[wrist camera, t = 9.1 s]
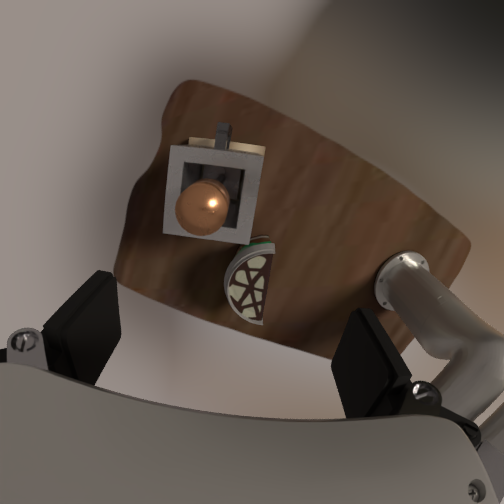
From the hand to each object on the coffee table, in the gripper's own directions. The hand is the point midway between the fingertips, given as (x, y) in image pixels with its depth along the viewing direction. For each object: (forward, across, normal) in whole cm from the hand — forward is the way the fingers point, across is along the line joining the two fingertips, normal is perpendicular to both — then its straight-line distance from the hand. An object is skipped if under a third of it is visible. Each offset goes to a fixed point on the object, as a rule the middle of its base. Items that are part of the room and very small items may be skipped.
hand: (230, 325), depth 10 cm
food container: (+35, -2, +12) cm, 37 cm away
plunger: (+32, +4, -1) cm, 32 cm away
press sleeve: (+32, +4, -3) cm, 33 cm away
